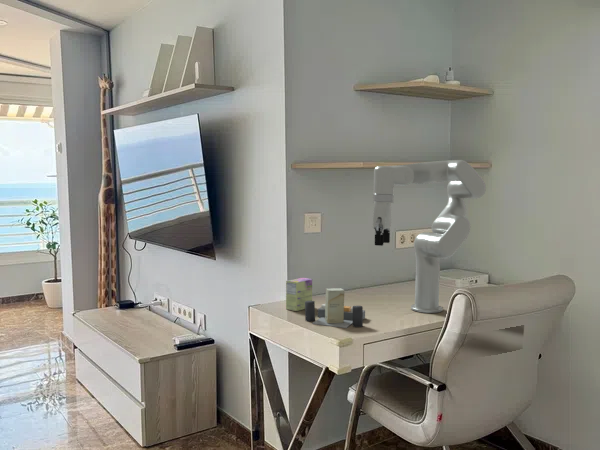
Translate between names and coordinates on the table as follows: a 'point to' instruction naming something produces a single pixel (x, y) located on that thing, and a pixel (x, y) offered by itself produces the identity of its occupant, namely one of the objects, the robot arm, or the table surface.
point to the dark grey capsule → (357, 316)
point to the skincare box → (334, 305)
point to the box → (298, 293)
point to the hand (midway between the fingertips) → (382, 244)
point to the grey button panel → (347, 322)
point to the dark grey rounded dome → (309, 311)
